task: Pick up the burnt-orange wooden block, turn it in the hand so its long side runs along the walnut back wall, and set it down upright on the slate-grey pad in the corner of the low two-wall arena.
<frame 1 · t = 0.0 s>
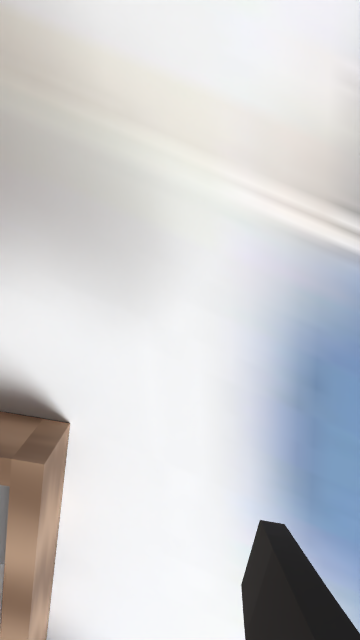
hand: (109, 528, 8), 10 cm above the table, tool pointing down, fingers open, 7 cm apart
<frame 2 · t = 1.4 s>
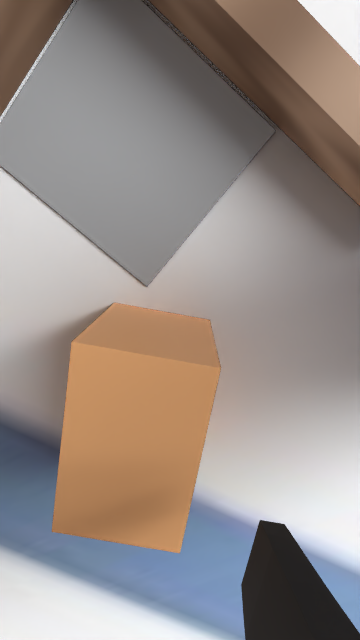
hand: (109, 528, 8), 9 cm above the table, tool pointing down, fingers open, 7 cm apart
block: (150, 379, 17), on the table
arena: (142, 238, 15), on the table
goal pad: (127, 141, 14), on the table
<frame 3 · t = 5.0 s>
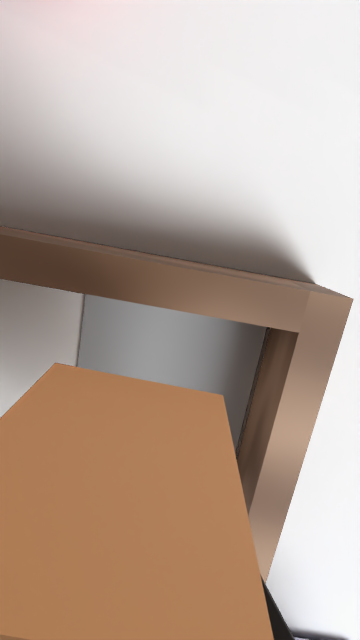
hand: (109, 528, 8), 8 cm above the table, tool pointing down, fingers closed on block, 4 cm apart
block: (119, 488, 10), point 7 cm above the table, touching gripper
arena: (101, 430, 17), on the table
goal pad: (162, 386, 17), on the table
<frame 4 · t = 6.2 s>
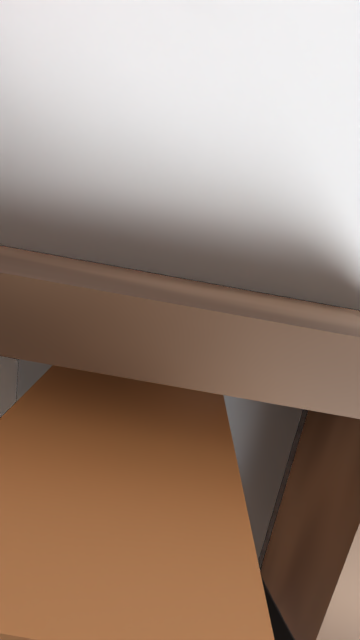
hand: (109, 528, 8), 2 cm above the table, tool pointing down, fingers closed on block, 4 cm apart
block: (120, 487, 10), point 1 cm above the table, touching gripper
arena: (54, 531, 11), on the table
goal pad: (146, 470, 11), on the table
when the fingers open (2 cm above the table, at t = 7.0 s): block stays where it is, resting on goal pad.
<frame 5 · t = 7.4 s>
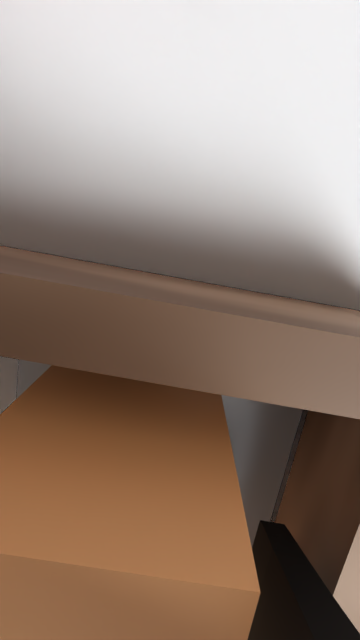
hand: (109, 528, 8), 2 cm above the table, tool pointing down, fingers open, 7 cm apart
block: (125, 472, 11), resting on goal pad
arena: (54, 531, 11), on the table
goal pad: (146, 470, 11), on the table
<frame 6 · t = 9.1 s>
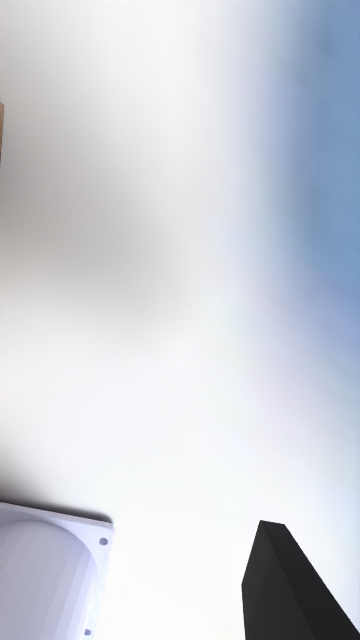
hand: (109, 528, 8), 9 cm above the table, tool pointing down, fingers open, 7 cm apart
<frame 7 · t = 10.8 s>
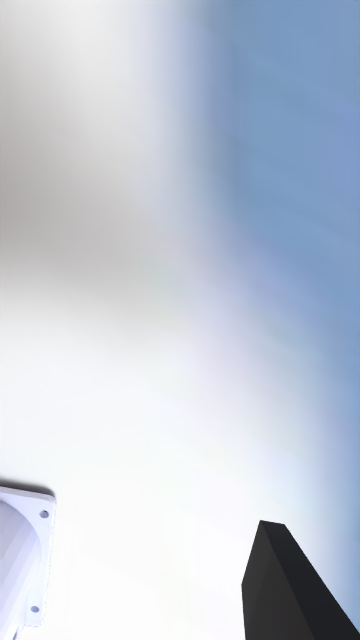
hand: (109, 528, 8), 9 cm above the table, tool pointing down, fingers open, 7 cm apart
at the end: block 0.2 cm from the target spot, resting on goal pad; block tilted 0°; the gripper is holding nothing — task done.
